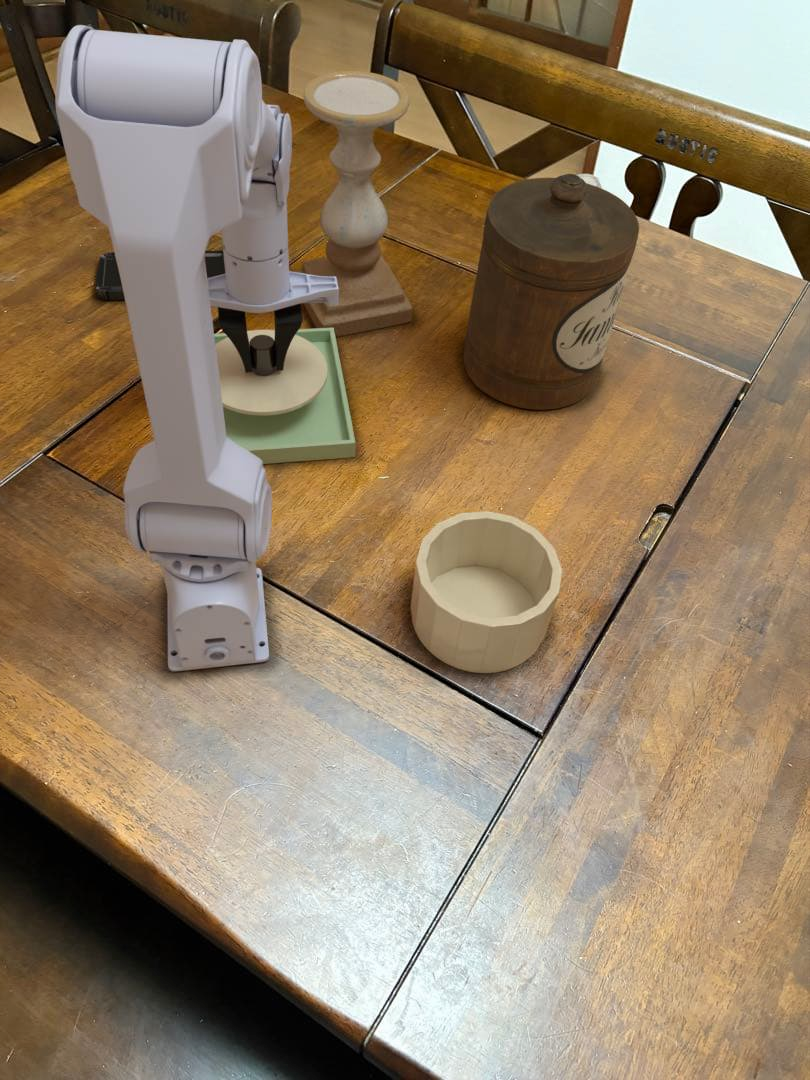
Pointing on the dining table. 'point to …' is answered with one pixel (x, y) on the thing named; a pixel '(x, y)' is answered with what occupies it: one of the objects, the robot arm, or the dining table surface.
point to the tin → (484, 591)
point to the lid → (270, 375)
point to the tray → (301, 417)
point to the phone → (111, 281)
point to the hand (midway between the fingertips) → (264, 365)
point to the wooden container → (547, 290)
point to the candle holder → (356, 204)
